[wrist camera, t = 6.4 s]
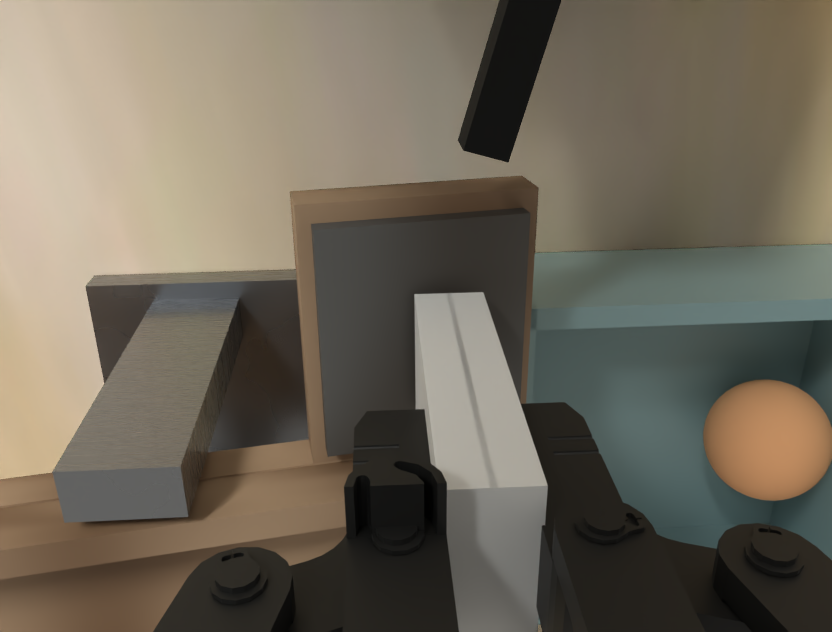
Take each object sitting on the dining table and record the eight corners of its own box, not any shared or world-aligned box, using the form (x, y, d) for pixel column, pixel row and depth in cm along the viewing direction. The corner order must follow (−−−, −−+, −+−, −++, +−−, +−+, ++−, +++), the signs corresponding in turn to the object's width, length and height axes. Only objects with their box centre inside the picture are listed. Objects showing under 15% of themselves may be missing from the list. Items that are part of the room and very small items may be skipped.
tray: (480, 538, 28) (509, 681, 22) (489, 254, 24) (529, 345, 18) (775, 524, 29) (873, 659, 23) (838, 243, 24) (977, 329, 19)
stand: (145, 548, 27) (54, 805, 19) (94, 275, 23) (-52, 454, 15) (322, 539, 28) (306, 788, 19) (303, 269, 23) (272, 440, 15)
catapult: (-355, 749, 18) (-492, 942, 15) (-651, 255, 13) (-970, 366, 10) (501, 597, 22) (555, 719, 19) (522, 175, 17) (601, 233, 14)
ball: (759, 540, 23) (847, 504, 24) (783, 432, 21) (875, 401, 22) (671, 472, 26) (753, 444, 27) (686, 373, 24) (772, 349, 25)
